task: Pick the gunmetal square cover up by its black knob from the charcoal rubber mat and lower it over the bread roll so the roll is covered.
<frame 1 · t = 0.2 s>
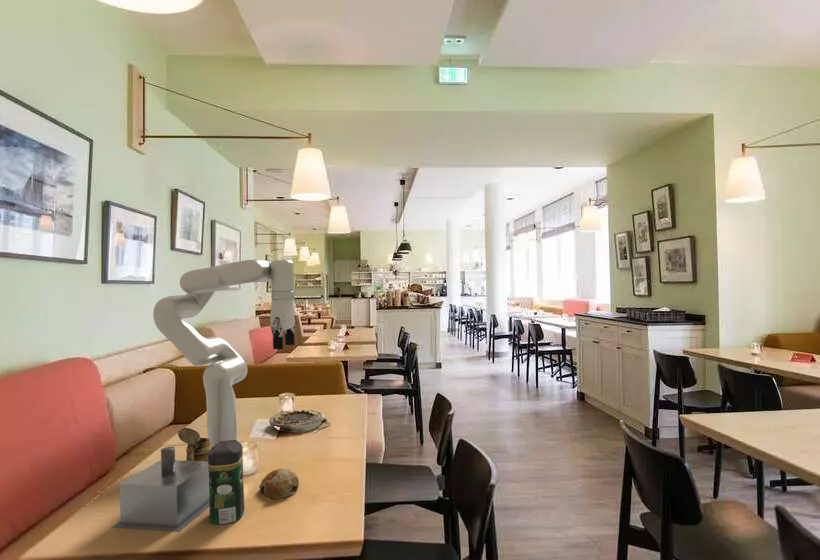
hand: (284, 346, 160), 37 cm above the table, tool pointing down, fingers open, 9 cm apart
bread roll: (279, 492, 133), on the table
mat: (169, 513, 122), on the table
coffee jar: (227, 518, 119), on the table
cover: (169, 511, 122), point 1 cm above the table, touching mat
wooden mug: (196, 481, 141), on the table
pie: (296, 427, 193), on the table
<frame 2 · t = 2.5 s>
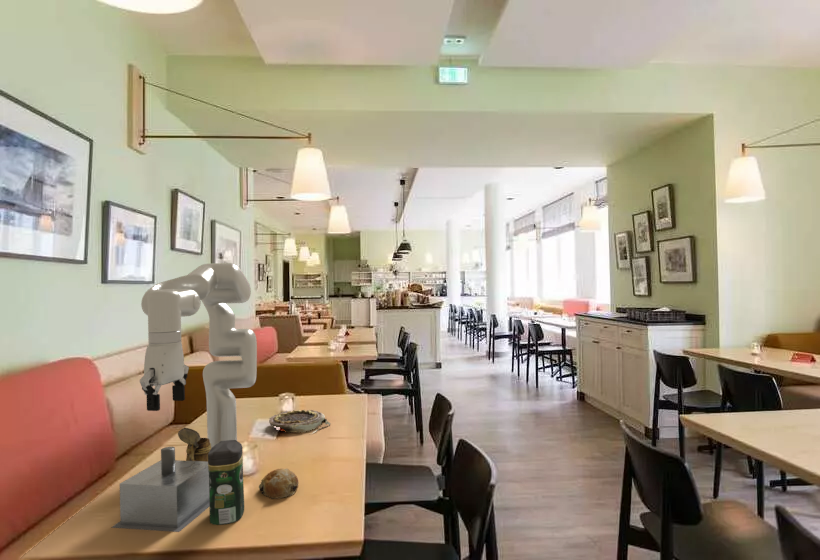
hand: (166, 405, 121), 28 cm above the table, tool pointing down, fingers open, 9 cm apart
nothing on the table moved.
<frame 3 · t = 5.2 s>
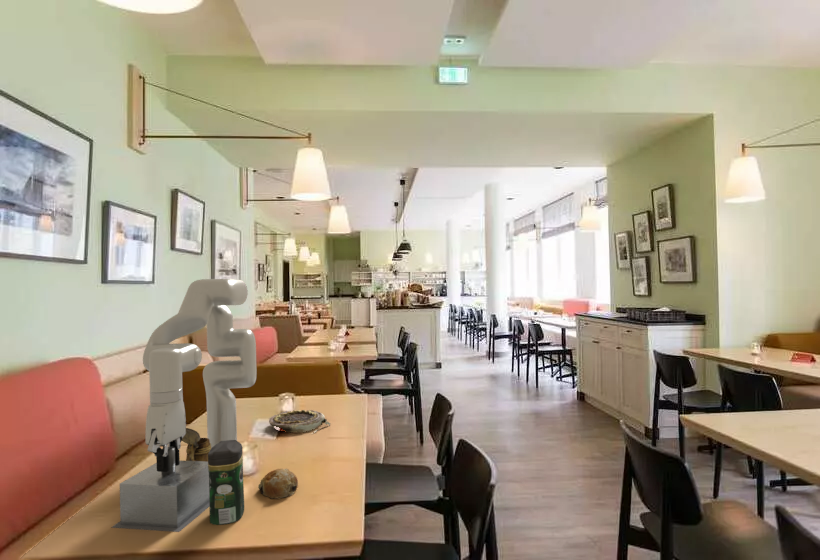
hand: (168, 467, 121), 12 cm above the table, tool pointing down, fingers closed on cover, 3 cm apart
cover: (169, 511, 122), point 1 cm above the table, touching gripper, mat
everything else where it was.
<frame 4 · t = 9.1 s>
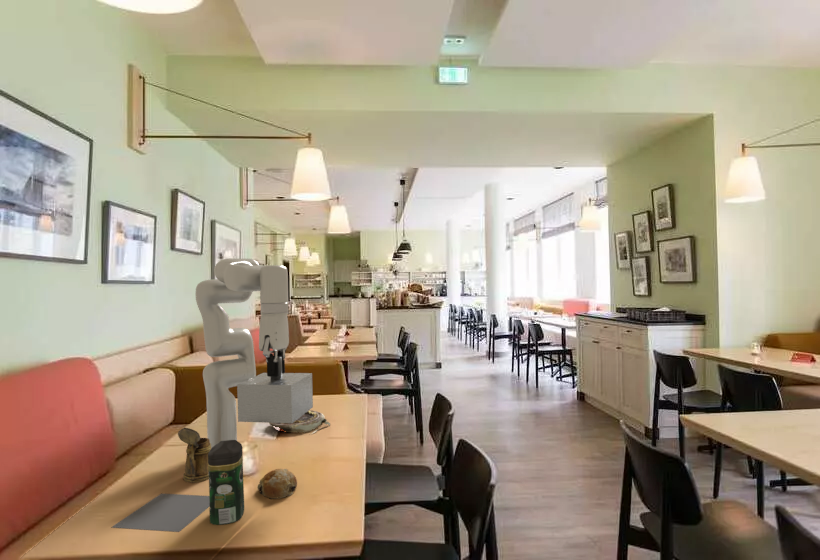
hand: (276, 374, 133), 33 cm above the table, tool pointing down, fingers closed on cover, 3 cm apart
cover: (277, 414, 133), point 22 cm above the table, touching gripper
everything else where it was.
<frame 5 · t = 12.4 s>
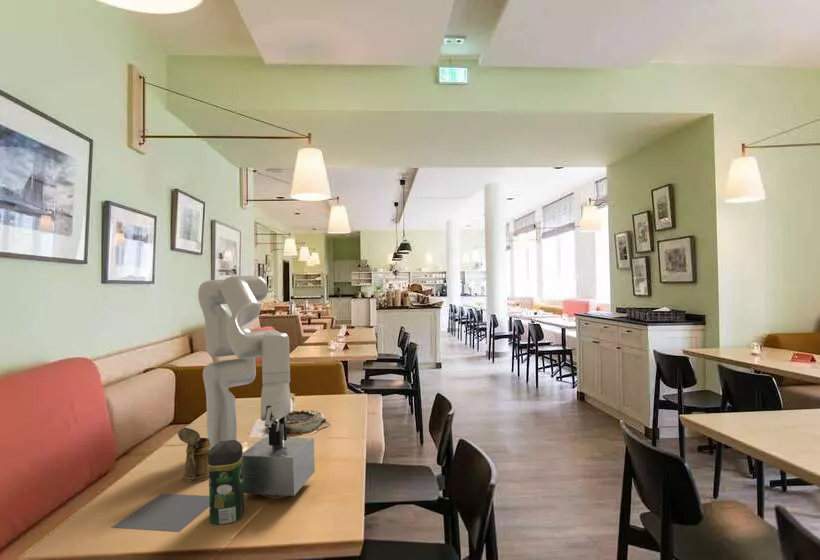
hand: (277, 442, 133), 14 cm above the table, tool pointing down, fingers closed on cover, 3 cm apart
cover: (279, 482, 133), point 3 cm above the table, touching gripper
everything else where it was.
when the fingers open (13 cm above the table, at t = 13.5 s): cover drops 1 cm, on the table.
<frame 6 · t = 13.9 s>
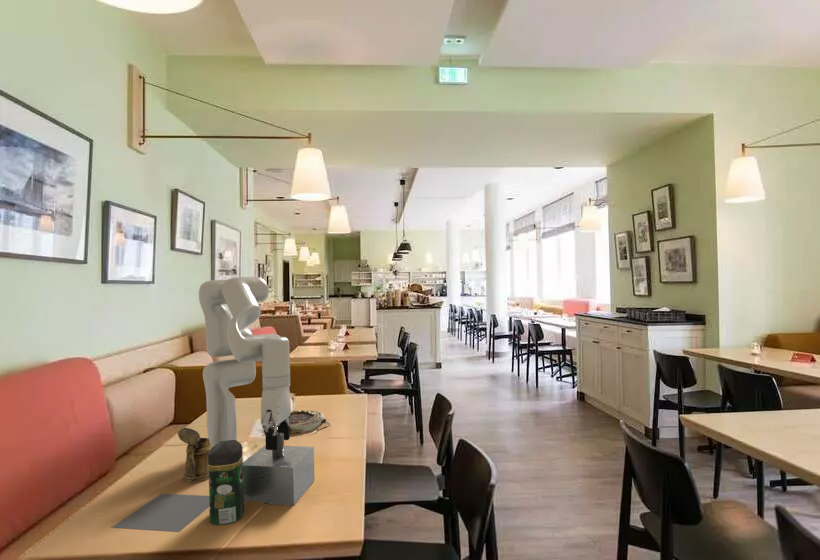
hand: (278, 444, 133), 13 cm above the table, tool pointing down, fingers open, 7 cm apart
cover: (279, 491, 133), on the table
everything else where it was.
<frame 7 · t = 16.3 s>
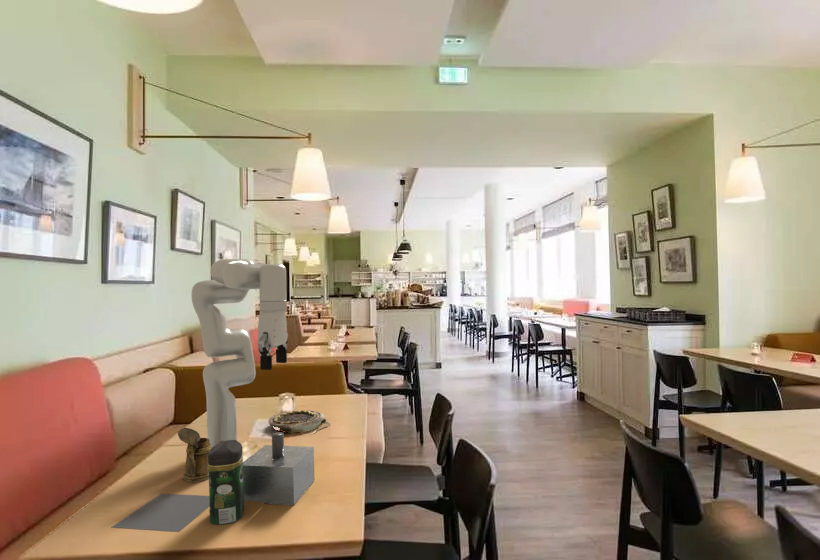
hand: (274, 366, 137), 34 cm above the table, tool pointing down, fingers open, 9 cm apart
nothing on the table moved.
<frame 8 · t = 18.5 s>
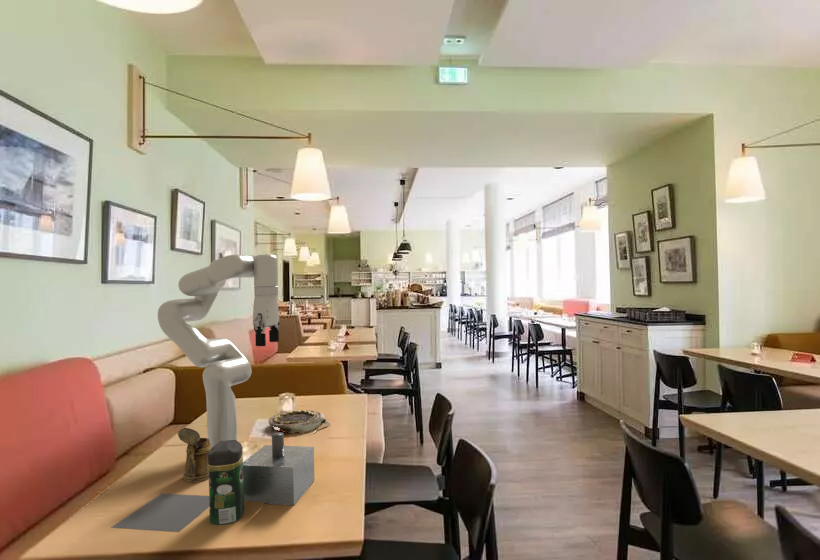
hand: (267, 343, 156), 38 cm above the table, tool pointing down, fingers open, 9 cm apart
at the end: cover 1.1 cm from the bread roll (horizontally); cover tilted 0°; cover on the table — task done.
